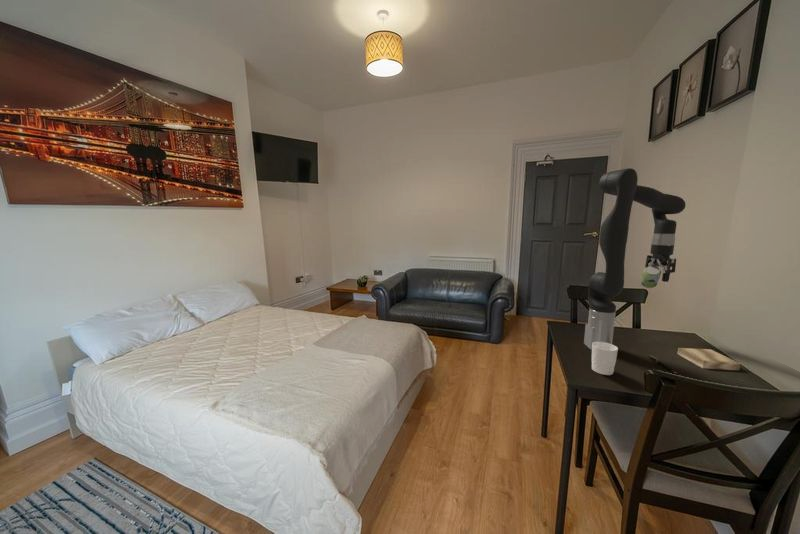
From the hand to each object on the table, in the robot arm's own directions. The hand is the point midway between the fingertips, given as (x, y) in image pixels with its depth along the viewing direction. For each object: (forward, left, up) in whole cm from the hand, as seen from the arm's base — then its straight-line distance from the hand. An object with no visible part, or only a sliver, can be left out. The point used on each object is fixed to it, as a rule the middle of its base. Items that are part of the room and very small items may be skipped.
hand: (657, 279), depth 127 cm
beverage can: (+2, +9, -4) cm, 10 cm away
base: (+9, -18, -30) cm, 36 cm away
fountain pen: (-11, -24, -30) cm, 40 cm away
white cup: (-36, -31, -30) cm, 56 cm away
